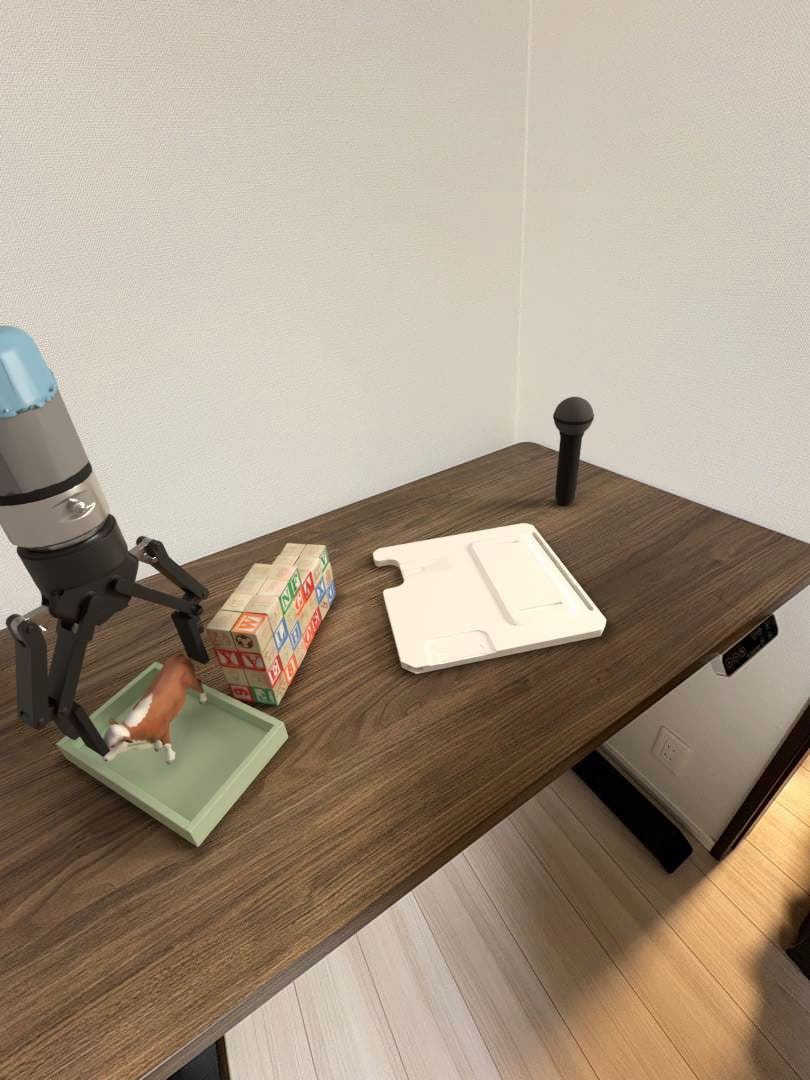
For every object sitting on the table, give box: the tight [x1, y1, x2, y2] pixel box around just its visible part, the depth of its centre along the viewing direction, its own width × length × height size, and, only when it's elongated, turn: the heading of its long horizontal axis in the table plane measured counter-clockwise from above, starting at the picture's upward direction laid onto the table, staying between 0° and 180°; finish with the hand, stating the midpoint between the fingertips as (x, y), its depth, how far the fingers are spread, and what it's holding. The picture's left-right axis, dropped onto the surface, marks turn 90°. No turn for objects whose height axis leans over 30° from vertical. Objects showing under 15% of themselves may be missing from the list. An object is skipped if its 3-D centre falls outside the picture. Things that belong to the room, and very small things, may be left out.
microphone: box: [552, 396, 595, 506], centre depth 93 cm, size 7×7×20 cm
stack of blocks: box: [205, 542, 337, 707], centre depth 70 cm, size 21×6×12 cm, turn 167°
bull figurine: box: [100, 652, 207, 765], centre depth 57 cm, size 4×13×8 cm, turn 166°
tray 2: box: [372, 522, 607, 675], centre depth 79 cm, size 28×28×2 cm
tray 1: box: [55, 661, 289, 848], centre depth 60 cm, size 22×14×3 cm, turn 61°
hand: (152, 700), depth 56 cm, fingers closed on bull figurine, 12 cm apart
